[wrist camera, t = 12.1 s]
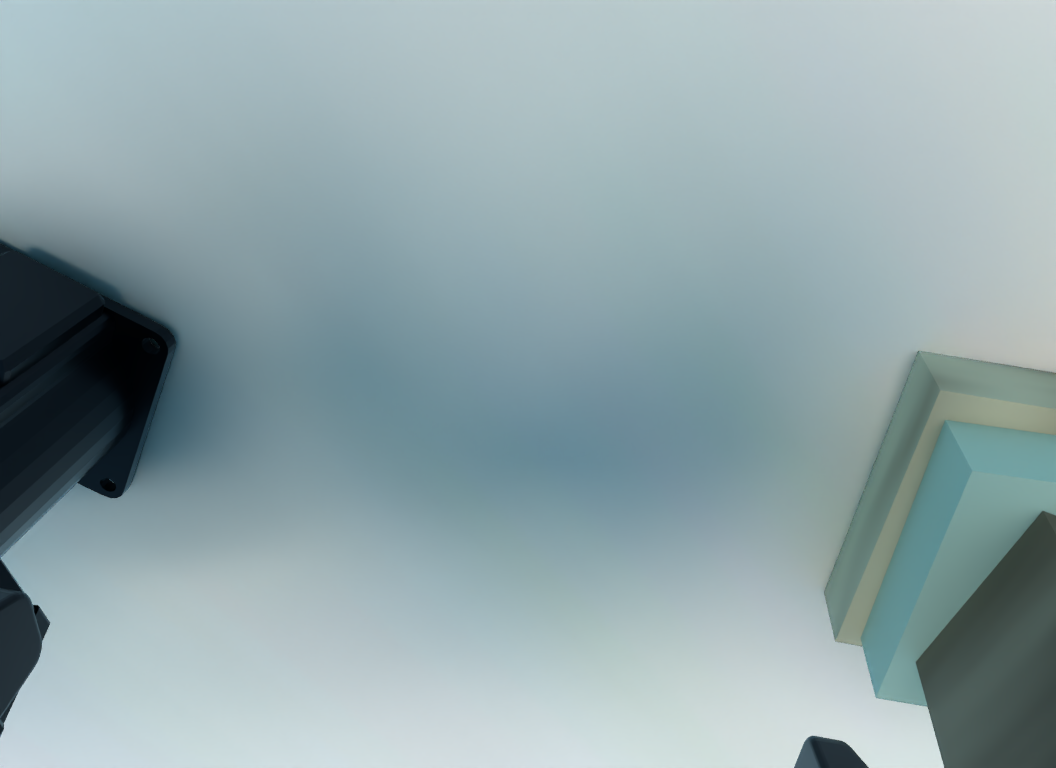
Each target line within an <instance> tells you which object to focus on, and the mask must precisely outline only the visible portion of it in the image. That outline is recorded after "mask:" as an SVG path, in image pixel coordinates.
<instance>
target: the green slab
mask: <svg viewBox="0 0 1056 768" xmlns="http://www.w3.org/2000/svg"><path fill="white" fill-rule="evenodd" d="M1042 511H1045V512H1048V513H1050V514H1053V515H1056V435H1051V434H1044V433H1037V432H1029V431H1022V430H1015V429H1008V428H1001V427H993V426H986V425H979V424H972V423H965V422H957V421H950V420H945V422H944V425H943V427H942V430H941V432H940V435H939V437H938V440H937V442H936V445H935V448H934V450H933V453H932V455H931V458H930V461H929V463H928V466H927V468H926V471H925V473H924V476H923V479H922V481H921V484H920V486H919V489H918V491H917V494H916V497H915V499H914V502H913V504H912V507H911V509H910V512H909V515H908V517H907V520H906V522H905V525H904V527H903V530H902V533H901V535H900V538H899V540H898V543H897V546H896V548H895V551H894V553H893V556H892V558H891V561H890V564H889V566H888V569H887V571H886V574H885V576H884V579H883V582H882V584H881V587H880V589H879V592H878V594H877V597H876V600H875V602H874V605H873V607H872V610H871V613H870V615H869V618H868V620H867V623H866V625H865V628H864V631H863V633H862V636H861V642H862V646H863V650H864V653H865V657H866V661H867V665H868V669H869V673H870V677H871V681H872V685H873V688H874V692H875V696H876V698H879V699H885V700H891V701H897V702H903V703H909V704H915V705H921V706H927V702H926V699H925V695H924V691H923V688H922V684H921V680H920V677H919V673H918V669H917V666H916V661H917V660H918V659H919V657H920V656H921V655H922V654H923V653H924V651H925V650H926V649H927V648H928V647H929V645H930V644H931V643H932V642H933V641H934V640H935V638H936V637H937V636H938V635H939V634H940V632H941V631H942V630H943V629H944V628H945V626H946V625H947V624H948V623H949V622H950V620H951V619H952V618H953V617H954V616H955V614H956V613H957V612H958V611H959V610H960V609H961V607H962V606H963V605H964V604H965V603H966V601H967V600H968V599H969V598H970V597H971V595H972V594H973V593H974V592H975V591H976V590H977V588H978V587H979V586H980V585H981V584H982V582H983V581H984V580H985V579H986V578H987V576H988V575H989V574H990V573H991V572H992V571H993V569H994V568H995V567H996V566H997V565H998V563H999V562H1000V561H1001V560H1002V559H1003V557H1004V556H1005V555H1006V554H1007V553H1008V551H1009V550H1010V549H1011V548H1012V547H1013V546H1014V544H1015V543H1016V542H1017V541H1018V540H1019V538H1020V537H1021V536H1022V535H1023V534H1024V532H1025V531H1026V530H1027V529H1028V528H1029V527H1030V525H1031V524H1032V523H1033V522H1034V521H1035V519H1036V518H1037V517H1038V516H1039V515H1040V513H1041V512H1042ZM927 707H928V706H927Z"/></svg>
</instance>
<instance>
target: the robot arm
mask: <svg viewBox="0 0 1056 768" xmlns="http://www.w3.org/2000/svg"><path fill="white" fill-rule="evenodd" d="M150 338H151V339H154V340H155V341H156V342H157V343H158V345H159V346H160V348H158V347H155V346H154V345H153V344H152V343H151V341H150ZM175 344H176V342H175V339H174V336H173V335H172V333H171V332H170V331H169V330H168V329H167V328H165V327H164V326H162V325H160V324H158V323H156V322H154V321H152V320H150V319H149V318H147V317H145V316H143V315H141V314H139V313H137V312H135V311H133V310H131V309H129V308H127V307H125V306H123V305H121V304H119V303H117V302H115V301H113V300H111V299H109V298H107V297H105V296H103V295H101V294H99V293H97V292H96V291H94V290H92V289H90V288H88V287H86V286H84V285H82V284H80V283H78V282H76V281H74V280H72V279H70V278H68V277H66V276H64V275H62V274H60V273H58V272H56V271H54V270H52V269H50V268H48V267H47V266H45V265H43V264H41V263H39V262H37V261H35V260H33V259H31V258H29V257H27V256H25V255H23V254H21V253H19V252H17V251H14V250H12V249H10V248H8V247H6V246H4V245H2V244H0V737H1V734H2V732H3V730H4V722H5V719H6V717H7V715H8V713H9V711H10V709H11V707H12V704H13V702H14V700H15V698H16V696H17V694H18V692H19V690H20V688H21V687H22V685H23V684H24V682H25V681H26V679H27V678H28V676H29V675H30V673H31V672H32V670H33V669H34V667H35V665H36V664H37V661H38V659H39V657H40V653H41V649H42V640H43V638H44V636H45V634H46V632H47V629H48V627H49V625H50V622H49V620H48V619H47V617H46V616H45V614H44V613H43V611H42V610H41V608H40V607H39V606H38V605H32V602H31V600H30V598H29V596H28V595H27V594H26V593H24V592H23V590H22V589H21V587H20V586H19V584H18V583H17V581H16V580H15V579H14V577H13V576H12V574H11V573H10V571H9V570H8V568H7V567H6V565H5V564H4V563H3V561H2V560H1V557H2V556H3V555H4V554H5V553H6V552H7V551H8V550H9V549H10V548H11V547H12V546H13V545H14V544H15V543H16V542H17V541H18V540H19V539H20V538H21V537H22V536H23V535H24V534H25V533H26V532H27V531H28V530H29V529H30V528H31V527H32V526H33V525H34V524H35V523H36V522H38V521H39V520H40V519H41V518H42V517H43V516H44V515H45V514H46V513H47V512H48V511H49V510H50V509H51V508H52V507H53V506H54V505H55V504H56V503H57V502H58V501H59V500H60V499H61V498H62V497H63V496H64V495H65V494H66V493H67V492H68V491H69V490H70V489H71V488H72V487H73V486H74V485H75V484H76V483H78V484H80V485H83V486H85V487H87V488H89V489H91V490H93V491H95V492H97V493H99V494H101V495H104V496H106V497H109V498H118V497H120V496H121V495H122V494H123V493H124V492H125V491H126V490H127V489H128V488H129V486H130V485H131V482H132V479H133V476H134V473H135V470H136V467H137V464H138V461H139V458H140V455H141V452H142V448H143V445H144V442H145V439H146V436H147V433H148V430H149V427H150V424H151V421H152V418H153V415H154V412H155V409H156V406H157V403H158V399H159V396H160V393H161V390H162V387H163V384H164V381H165V378H166V375H167V372H168V369H169V366H170V363H171V360H172V357H173V354H174V350H175ZM109 479H111V480H112V481H113V482H114V483H113V482H112V481H110V480H109ZM794 768H868V767H867V765H866V764H865V763H864V762H863V761H862V760H861V758H860V757H859V756H858V755H857V754H856V753H855V752H854V750H853V749H852V748H851V747H850V746H849V745H847V744H846V743H845V742H843V741H839V740H834V739H829V738H823V737H818V736H810V737H808V738H807V739H806V741H805V742H804V744H803V747H802V749H801V752H800V754H799V757H798V759H797V762H796V764H795V767H794Z"/></svg>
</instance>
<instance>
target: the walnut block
mask: <svg viewBox="0 0 1056 768" xmlns="http://www.w3.org/2000/svg"><path fill="white" fill-rule="evenodd" d="M916 666H917V669H918V673H919V677H920V680H921V684H922V688H923V691H924V695H925V699H926V702H927V706H928V709H929V713H930V717H931V720H932V724H933V728H934V731H935V735H936V739H937V742H938V746H939V749H940V753H941V757H942V760H943V764H944V768H1056V515H1053V514H1050V513H1048V512H1045V511H1042V512H1041V513H1040V515H1039V516H1038V517H1037V518H1036V519H1035V521H1034V522H1033V523H1032V524H1031V525H1030V527H1029V528H1028V529H1027V530H1026V531H1025V532H1024V534H1023V535H1022V536H1021V537H1020V538H1019V540H1018V541H1017V542H1016V543H1015V544H1014V546H1013V547H1012V548H1011V549H1010V550H1009V551H1008V553H1007V554H1006V555H1005V556H1004V557H1003V559H1002V560H1001V561H1000V562H999V563H998V565H997V566H996V567H995V568H994V569H993V571H992V572H991V573H990V574H989V575H988V576H987V578H986V579H985V580H984V581H983V582H982V584H981V585H980V586H979V587H978V588H977V590H976V591H975V592H974V593H973V594H972V595H971V597H970V598H969V599H968V600H967V601H966V603H965V604H964V605H963V606H962V607H961V609H960V610H959V611H958V612H957V613H956V614H955V616H954V617H953V618H952V619H951V620H950V622H949V623H948V624H947V625H946V626H945V628H944V629H943V630H942V631H941V632H940V634H939V635H938V636H937V637H936V638H935V640H934V641H933V642H932V643H931V644H930V645H929V647H928V648H927V649H926V650H925V651H924V653H923V654H922V655H921V656H920V657H919V659H918V660H917V661H916Z"/></svg>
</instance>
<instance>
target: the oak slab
mask: <svg viewBox="0 0 1056 768" xmlns="http://www.w3.org/2000/svg"><path fill="white" fill-rule="evenodd" d="M945 420H950V421H957V422H965V423H972V424H979V425H986V426H993V427H1001V428H1008V429H1015V430H1022V431H1029V432H1037V433H1044V434H1051V435H1056V373H1052V372H1046V371H1040V370H1034V369H1027V368H1021V367H1015V366H1009V365H1003V364H997V363H990V362H984V361H978V360H972V359H966V358H959V357H953V356H947V355H941V354H935V353H928V352H922V351H918V354H917V356H916V359H915V361H914V364H913V366H912V369H911V372H910V374H909V377H908V379H907V382H906V384H905V387H904V390H903V392H902V395H901V397H900V400H899V402H898V405H897V407H896V410H895V413H894V415H893V418H892V420H891V423H890V425H889V428H888V431H887V433H886V436H885V438H884V441H883V443H882V446H881V448H880V451H879V454H878V456H877V459H876V461H875V464H874V466H873V469H872V471H871V474H870V477H869V479H868V482H867V484H866V487H865V489H864V492H863V495H862V497H861V500H860V502H859V505H858V507H857V510H856V512H855V515H854V518H853V520H852V523H851V525H850V528H849V530H848V533H847V535H846V538H845V541H844V543H843V546H842V548H841V551H840V553H839V556H838V559H837V561H836V564H835V566H834V569H833V571H832V574H831V576H830V579H829V582H828V584H827V587H826V589H825V592H824V594H825V598H826V603H827V607H828V611H829V616H830V620H831V625H832V629H833V634H834V638H835V641H836V642H841V643H846V644H852V645H857V646H862V642H861V636H862V633H863V631H864V628H865V625H866V623H867V620H868V618H869V615H870V613H871V610H872V607H873V605H874V602H875V600H876V597H877V594H878V592H879V589H880V587H881V584H882V582H883V579H884V576H885V574H886V571H887V569H888V566H889V564H890V561H891V558H892V556H893V553H894V551H895V548H896V546H897V543H898V540H899V538H900V535H901V533H902V530H903V527H904V525H905V522H906V520H907V517H908V515H909V512H910V509H911V507H912V504H913V502H914V499H915V497H916V494H917V491H918V489H919V486H920V484H921V481H922V479H923V476H924V473H925V471H926V468H927V466H928V463H929V461H930V458H931V455H932V453H933V450H934V448H935V445H936V442H937V440H938V437H939V435H940V432H941V430H942V427H943V425H944V422H945Z"/></svg>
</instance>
